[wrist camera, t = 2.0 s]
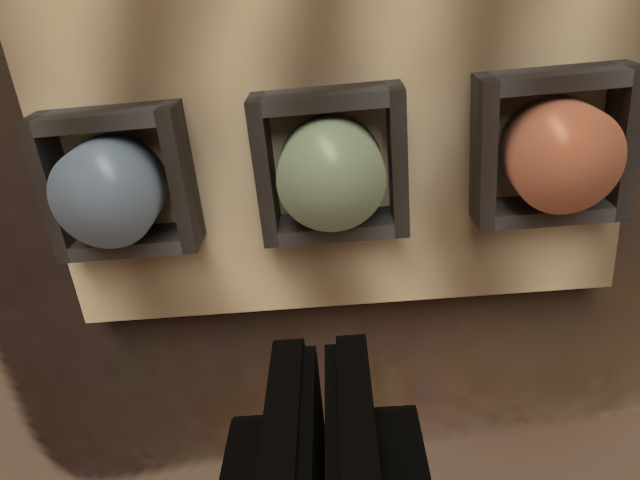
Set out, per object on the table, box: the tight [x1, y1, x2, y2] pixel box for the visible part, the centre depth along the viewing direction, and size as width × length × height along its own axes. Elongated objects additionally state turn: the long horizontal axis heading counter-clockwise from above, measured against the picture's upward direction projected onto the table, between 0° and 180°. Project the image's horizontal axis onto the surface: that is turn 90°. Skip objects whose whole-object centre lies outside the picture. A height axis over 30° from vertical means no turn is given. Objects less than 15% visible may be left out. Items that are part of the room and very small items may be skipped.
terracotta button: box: [498, 95, 627, 215], centre depth 22 cm, size 4×4×2 cm
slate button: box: [46, 133, 169, 249], centre depth 23 cm, size 4×4×2 cm
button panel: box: [0, 0, 640, 323], centre depth 24 cm, size 24×14×4 cm, turn 95°
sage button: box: [276, 114, 386, 232], centre depth 23 cm, size 4×4×2 cm
